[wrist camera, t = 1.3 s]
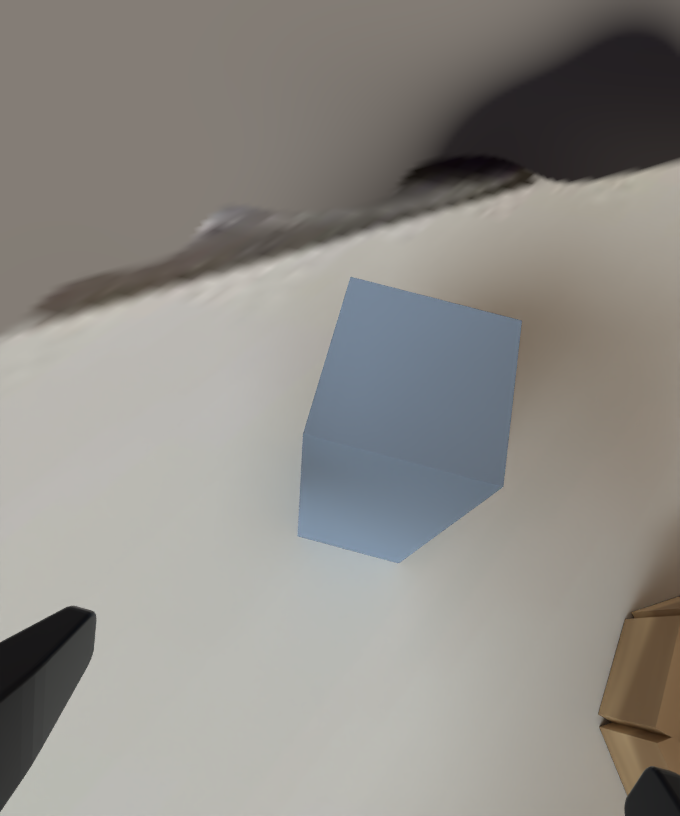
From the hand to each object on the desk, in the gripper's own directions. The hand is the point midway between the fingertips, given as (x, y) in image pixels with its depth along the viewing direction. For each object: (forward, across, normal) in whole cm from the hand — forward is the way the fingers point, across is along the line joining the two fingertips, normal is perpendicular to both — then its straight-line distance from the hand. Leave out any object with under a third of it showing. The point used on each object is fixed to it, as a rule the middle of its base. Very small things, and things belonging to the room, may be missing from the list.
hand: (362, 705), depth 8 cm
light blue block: (+14, 0, +4) cm, 15 cm away
